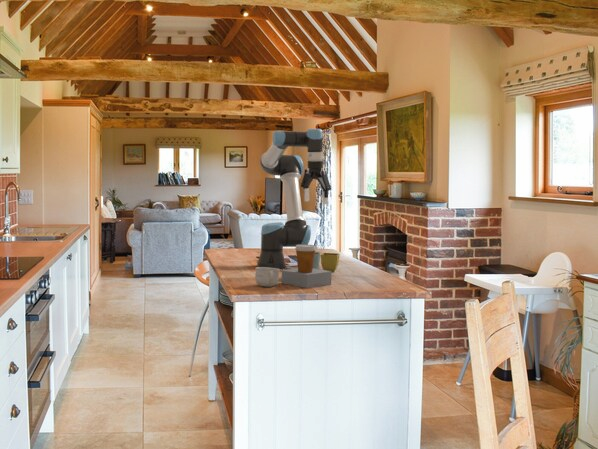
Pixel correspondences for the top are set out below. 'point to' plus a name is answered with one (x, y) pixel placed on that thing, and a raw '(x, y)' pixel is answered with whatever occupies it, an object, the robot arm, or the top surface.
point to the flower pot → (329, 261)
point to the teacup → (267, 276)
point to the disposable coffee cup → (305, 257)
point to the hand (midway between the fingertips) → (315, 202)
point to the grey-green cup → (316, 260)
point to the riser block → (306, 278)
